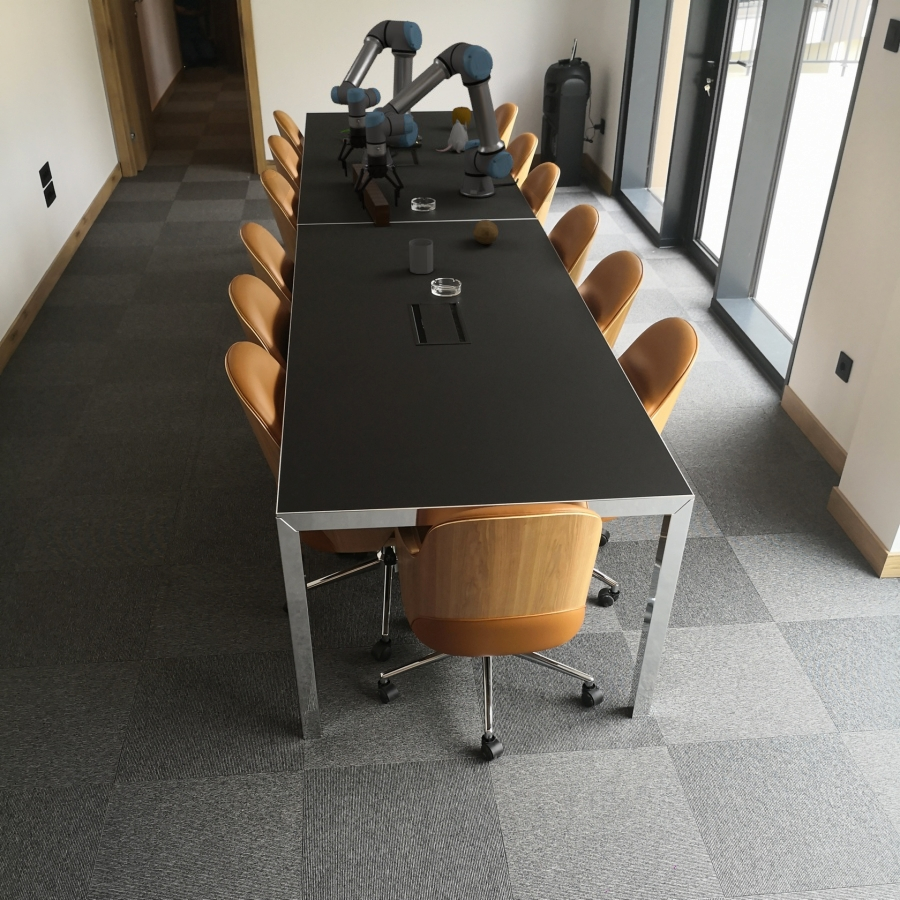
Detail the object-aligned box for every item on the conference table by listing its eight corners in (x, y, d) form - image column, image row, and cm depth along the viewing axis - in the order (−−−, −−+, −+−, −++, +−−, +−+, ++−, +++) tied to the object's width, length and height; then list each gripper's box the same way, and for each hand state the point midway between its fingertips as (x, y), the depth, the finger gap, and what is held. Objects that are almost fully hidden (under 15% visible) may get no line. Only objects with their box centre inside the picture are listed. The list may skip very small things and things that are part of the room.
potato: (495, 236, 338) (496, 216, 334) (500, 248, 327) (500, 227, 322) (471, 236, 338) (471, 216, 334) (474, 249, 326) (474, 228, 322)
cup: (409, 265, 311) (408, 238, 306) (432, 265, 312) (431, 238, 307) (410, 274, 304) (409, 246, 299) (433, 273, 305) (433, 246, 299)
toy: (473, 150, 452) (473, 120, 444) (442, 158, 438) (441, 127, 430) (460, 147, 458) (460, 117, 449) (429, 155, 443) (428, 125, 435)
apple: (471, 132, 486) (471, 108, 479) (451, 132, 486) (451, 108, 479) (470, 128, 495) (471, 104, 488) (452, 128, 495) (452, 104, 488)
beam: (353, 183, 401) (351, 164, 397) (364, 182, 403) (363, 163, 398) (376, 226, 348) (375, 205, 344) (389, 225, 350) (389, 204, 345)
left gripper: (330, 130, 376) (334, 179, 388) (387, 126, 381) (389, 174, 393) (328, 126, 382) (332, 174, 394) (384, 122, 387) (386, 170, 399)
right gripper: (346, 158, 335) (350, 212, 347) (409, 154, 340) (411, 207, 352) (343, 153, 341) (348, 207, 353) (406, 149, 346) (408, 202, 358)
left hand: (361, 174), depth 393 cm, fingers open, 13 cm apart
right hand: (379, 207), depth 352 cm, fingers open, 13 cm apart
